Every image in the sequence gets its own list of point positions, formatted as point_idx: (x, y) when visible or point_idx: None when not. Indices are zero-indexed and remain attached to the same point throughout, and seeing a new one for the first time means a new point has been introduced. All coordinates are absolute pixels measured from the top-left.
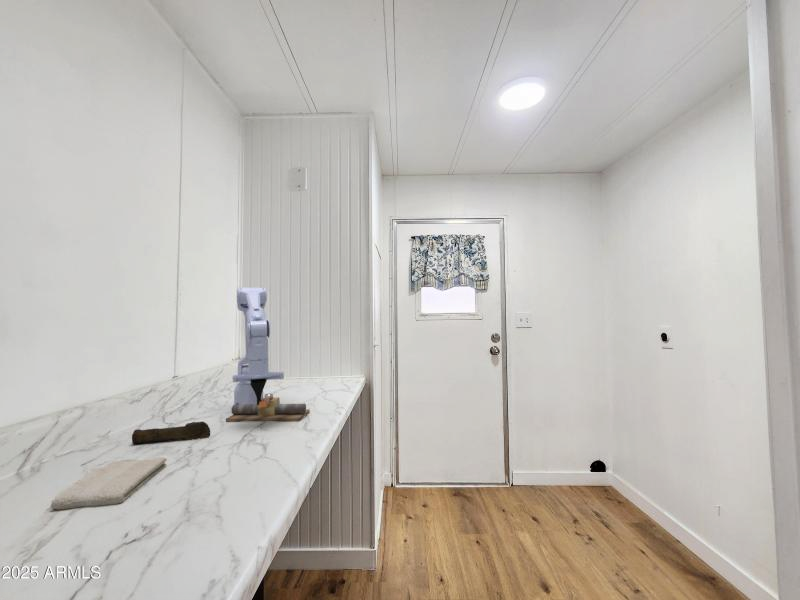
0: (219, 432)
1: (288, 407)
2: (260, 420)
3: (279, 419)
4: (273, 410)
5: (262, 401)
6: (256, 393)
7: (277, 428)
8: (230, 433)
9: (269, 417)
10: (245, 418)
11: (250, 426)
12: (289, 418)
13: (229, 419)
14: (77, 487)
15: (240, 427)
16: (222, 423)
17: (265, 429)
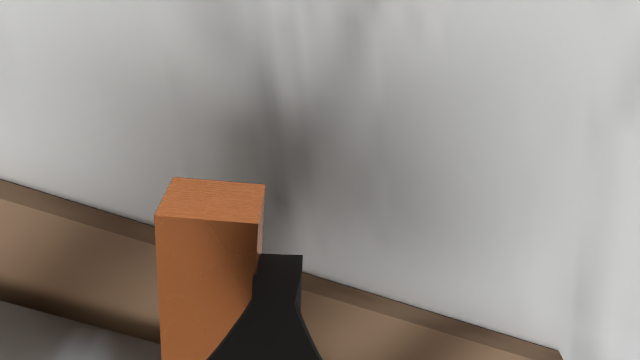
0: (626, 99)
1: (28, 349)
2: None
3: (125, 229)
4: None
5: (213, 237)
6: (296, 352)
7: (106, 15)
8: (537, 28)
9: None
10: (418, 326)
11: (368, 173)
12: (25, 204)
13: (540, 356)
14: None
15: (450, 176)
16: (584, 326)
17: (221, 28)
